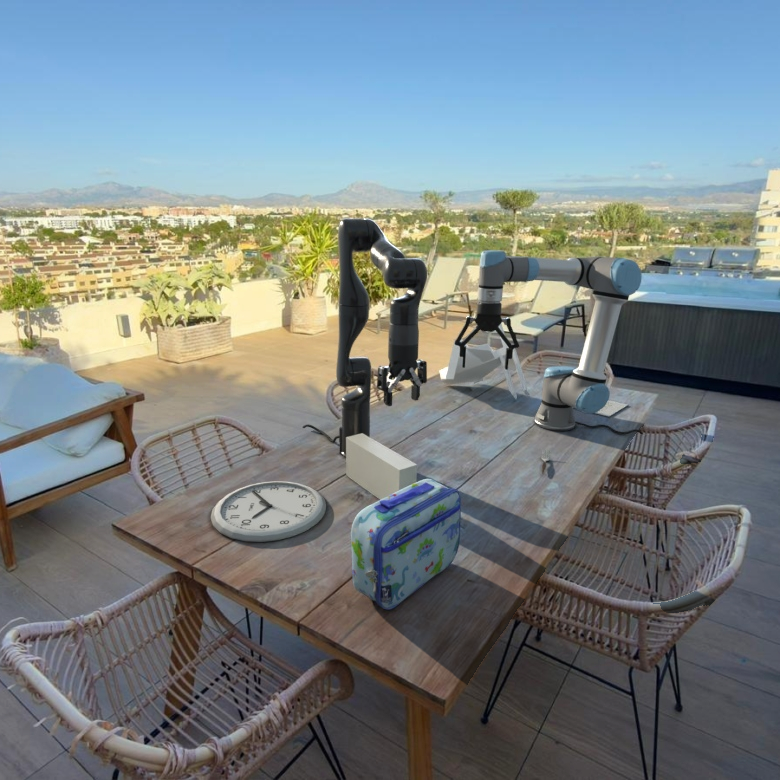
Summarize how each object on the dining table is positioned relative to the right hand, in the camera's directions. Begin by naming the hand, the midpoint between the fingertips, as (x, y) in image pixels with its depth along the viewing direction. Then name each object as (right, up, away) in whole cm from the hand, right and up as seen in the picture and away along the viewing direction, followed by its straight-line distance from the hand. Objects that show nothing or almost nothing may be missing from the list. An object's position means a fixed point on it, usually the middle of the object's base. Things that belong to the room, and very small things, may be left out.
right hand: (484, 367), depth 169 cm
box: (-34, -36, -18) cm, 53 cm away
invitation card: (+61, -15, +57) cm, 85 cm away
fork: (+19, -32, 0) cm, 37 cm away
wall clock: (-63, -39, -29) cm, 80 cm away
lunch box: (-27, -49, -56) cm, 79 cm away
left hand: (-28, -10, -34) cm, 45 cm away
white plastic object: (+11, -8, +74) cm, 75 cm away
